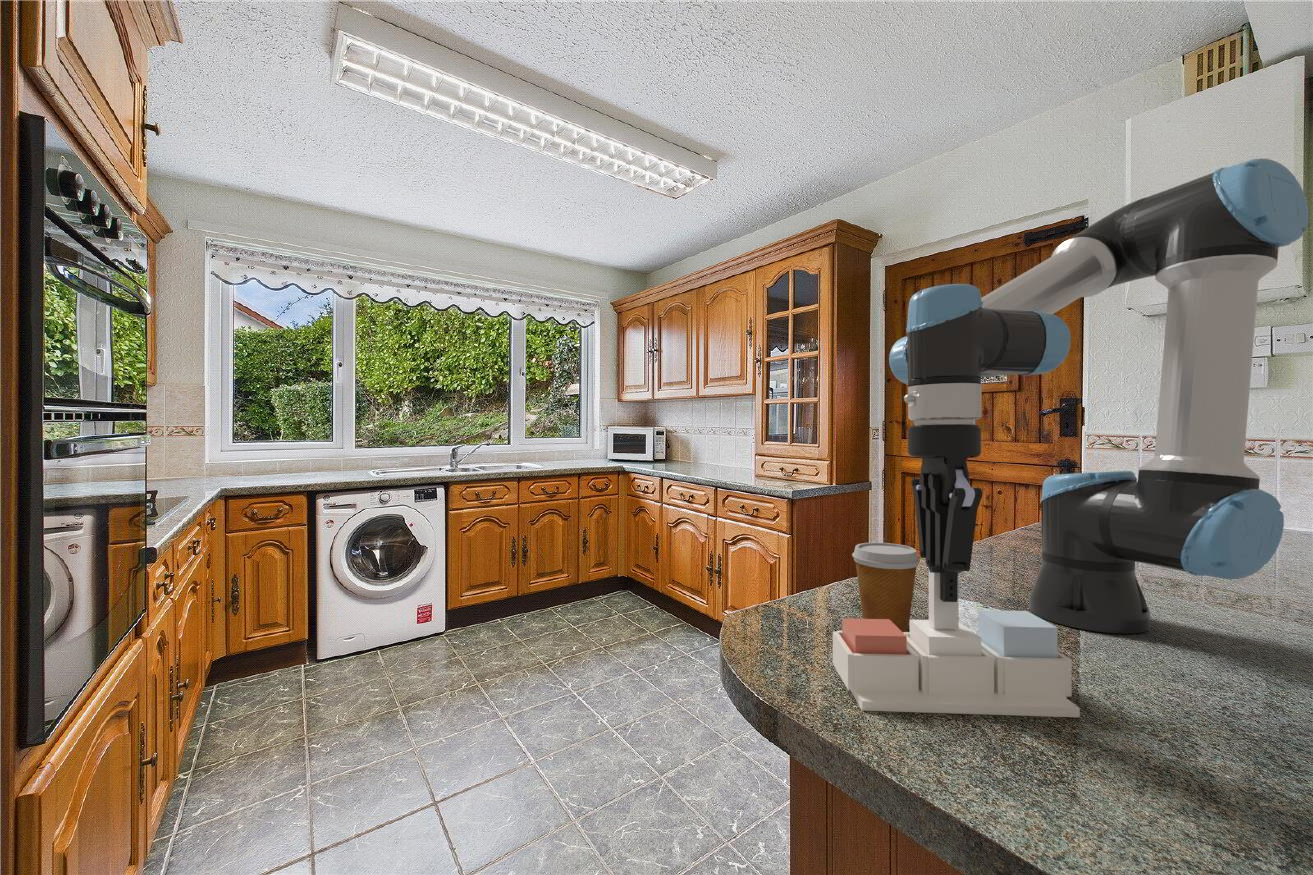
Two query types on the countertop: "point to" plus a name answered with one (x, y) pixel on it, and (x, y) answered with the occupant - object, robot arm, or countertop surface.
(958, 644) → the white key
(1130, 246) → the robot arm
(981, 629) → the pale blue key
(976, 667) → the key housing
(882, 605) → the disposable coffee cup
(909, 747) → the countertop surface
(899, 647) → the brick-red key
